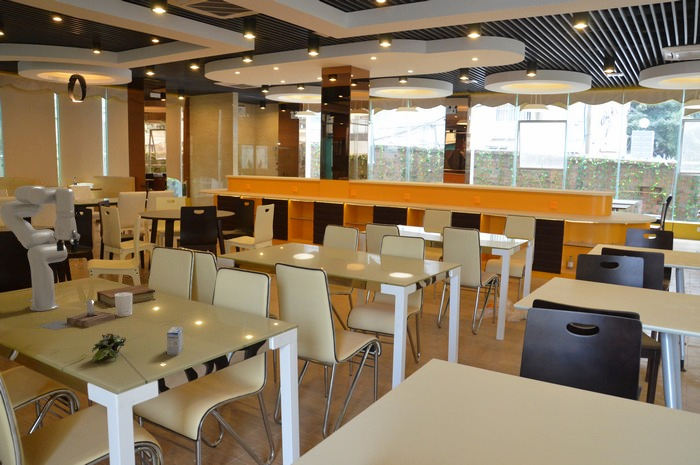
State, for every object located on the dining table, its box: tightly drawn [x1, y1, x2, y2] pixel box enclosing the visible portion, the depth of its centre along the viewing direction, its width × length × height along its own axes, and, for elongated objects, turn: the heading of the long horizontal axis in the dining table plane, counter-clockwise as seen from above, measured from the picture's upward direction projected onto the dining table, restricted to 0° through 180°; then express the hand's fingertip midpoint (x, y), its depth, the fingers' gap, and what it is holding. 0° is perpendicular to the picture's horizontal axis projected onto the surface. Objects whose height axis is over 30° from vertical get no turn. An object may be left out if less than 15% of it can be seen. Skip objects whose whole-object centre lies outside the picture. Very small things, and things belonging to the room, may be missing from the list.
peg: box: [86, 299, 95, 318], centre depth 253 cm, size 3×3×10 cm
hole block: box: [66, 310, 116, 328], centre depth 254 cm, size 14×14×3 cm
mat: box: [38, 320, 75, 331], centre depth 248 cm, size 12×10×1 cm
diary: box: [96, 284, 156, 308], centre depth 295 cm, size 23×19×6 cm
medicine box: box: [166, 326, 184, 356], centre depth 215 cm, size 8×4×9 cm, turn 5°
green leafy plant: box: [91, 332, 127, 363], centre depth 206 cm, size 11×11×12 cm
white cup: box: [115, 292, 133, 318], centre depth 266 cm, size 8×8×10 cm
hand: (67, 251), depth 262 cm, fingers open, 9 cm apart
